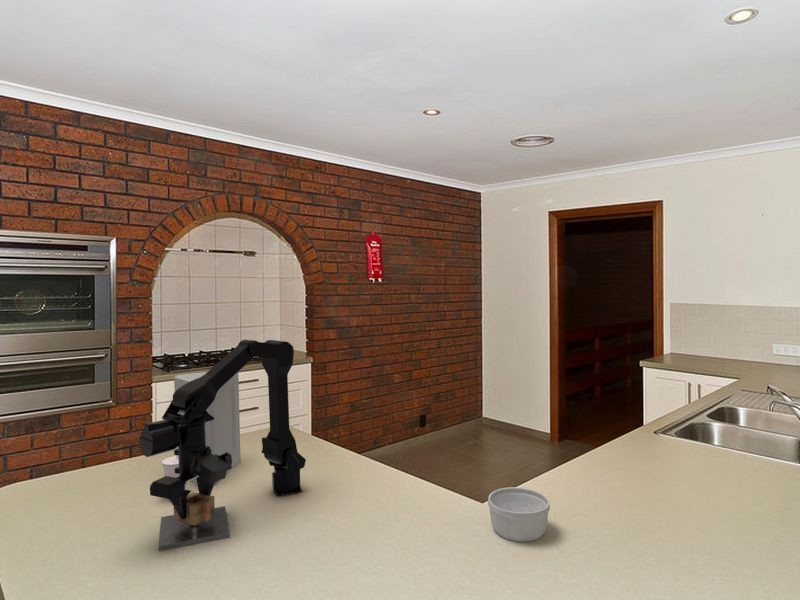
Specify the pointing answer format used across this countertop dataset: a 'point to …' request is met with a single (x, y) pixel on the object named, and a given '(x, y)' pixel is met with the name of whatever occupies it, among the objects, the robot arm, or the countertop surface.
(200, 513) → the wooden cubby with handle
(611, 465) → the countertop surface
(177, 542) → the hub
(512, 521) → the ramekin
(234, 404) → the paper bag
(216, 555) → the countertop surface
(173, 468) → the smoothie
